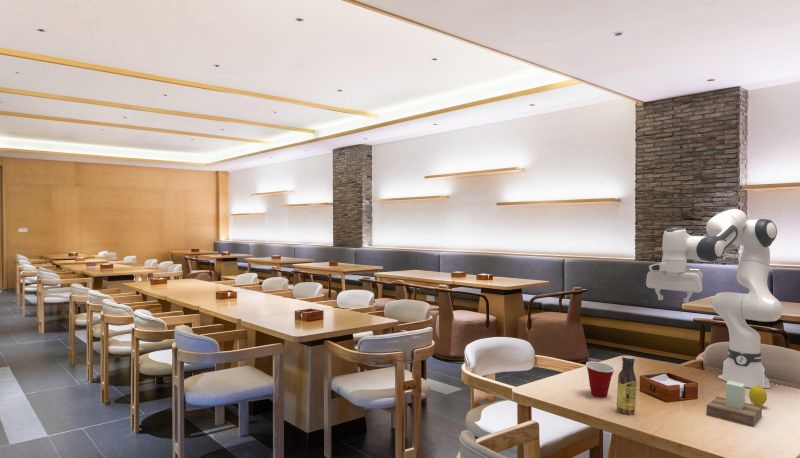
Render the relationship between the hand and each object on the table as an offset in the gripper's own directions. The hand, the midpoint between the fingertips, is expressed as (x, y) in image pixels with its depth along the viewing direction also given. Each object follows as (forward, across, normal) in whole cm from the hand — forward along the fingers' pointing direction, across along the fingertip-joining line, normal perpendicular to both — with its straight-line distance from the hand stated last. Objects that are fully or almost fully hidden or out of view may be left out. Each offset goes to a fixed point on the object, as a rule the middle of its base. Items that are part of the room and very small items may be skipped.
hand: (673, 301), depth 204 cm
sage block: (+34, -24, +10) cm, 43 cm away
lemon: (+37, -28, -8) cm, 47 cm away
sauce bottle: (+37, +4, +36) cm, 52 cm away
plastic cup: (+37, +18, +26) cm, 49 cm away
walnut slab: (+38, -24, +10) cm, 46 cm away
